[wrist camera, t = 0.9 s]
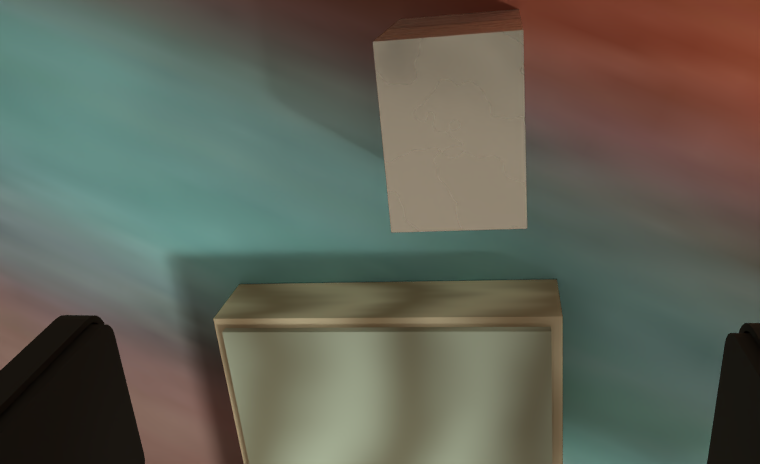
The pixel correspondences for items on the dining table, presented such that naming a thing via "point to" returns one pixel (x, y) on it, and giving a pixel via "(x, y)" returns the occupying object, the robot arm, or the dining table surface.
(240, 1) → the dining table surface
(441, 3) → the dining table surface
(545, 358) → the wooden stand
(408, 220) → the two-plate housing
